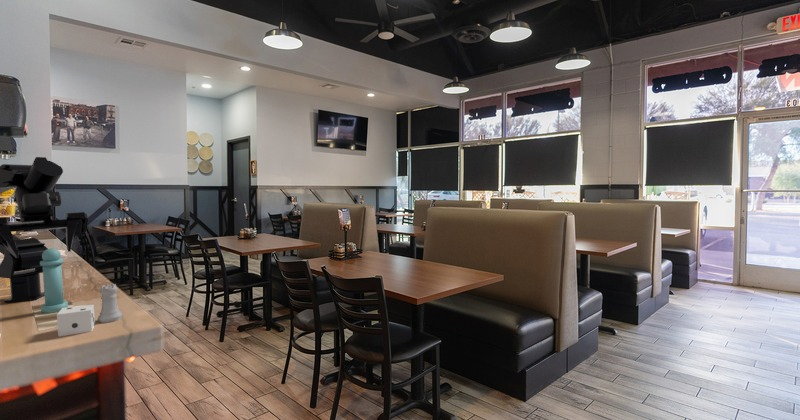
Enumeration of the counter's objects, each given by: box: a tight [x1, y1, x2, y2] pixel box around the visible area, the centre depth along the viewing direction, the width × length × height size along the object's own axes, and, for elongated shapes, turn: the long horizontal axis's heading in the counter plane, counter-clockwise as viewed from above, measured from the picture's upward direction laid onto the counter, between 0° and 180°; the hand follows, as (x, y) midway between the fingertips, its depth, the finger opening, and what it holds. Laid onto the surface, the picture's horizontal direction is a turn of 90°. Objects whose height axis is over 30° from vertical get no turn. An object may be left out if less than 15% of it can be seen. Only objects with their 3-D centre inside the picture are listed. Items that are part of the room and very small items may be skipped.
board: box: [31, 299, 75, 332], centre depth 91 cm, size 24×7×1 cm, turn 44°
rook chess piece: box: [97, 283, 124, 324], centre depth 85 cm, size 4×4×8 cm
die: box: [57, 303, 96, 338], centre depth 80 cm, size 5×5×5 cm
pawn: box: [40, 247, 68, 314], centre depth 92 cm, size 5×5×14 cm
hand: (44, 253), depth 96 cm, fingers open, 9 cm apart
